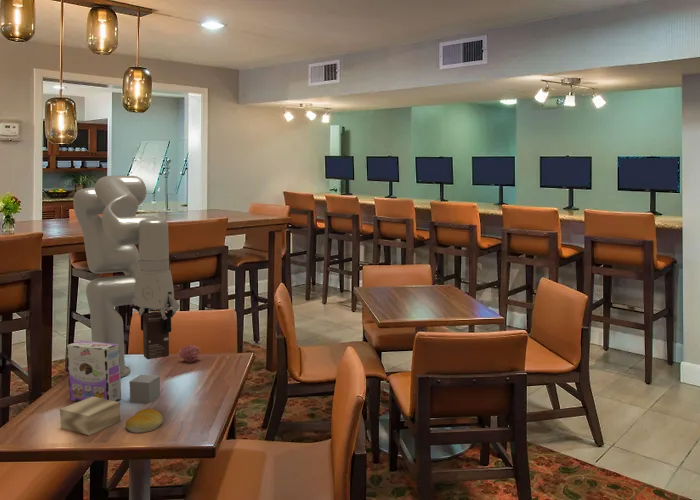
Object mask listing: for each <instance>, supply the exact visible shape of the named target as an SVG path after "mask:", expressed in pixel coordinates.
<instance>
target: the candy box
mask: <svg viewBox="0 0 700 500" xmlns="http://www.w3.org/2000/svg"><path fill="white" fill-rule="evenodd" d="M66 355H67V356H66V357H67V358H66V359H67V370H68V383H69V384H68V386H69V400H70V401H74V402H79V401H82V400H84V399H87V398H89V397H92V396H93V397H97V398H102V399H107V400H111V401H116V402H119V401H120V400H122V387H121V382H122V381H121V378H120V359H119V344H111V343H101V342H92V340H90V341H89V340H81V339H80V340H77V341H75V342H73V343H70V344H69V343H68V344H66Z"/></svg>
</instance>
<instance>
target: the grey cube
mask: <svg viewBox="0 0 700 500" xmlns="http://www.w3.org/2000/svg"><path fill="white" fill-rule="evenodd" d="M160 376H161V375H152V374H151V375H150V374H149V375H148V374H139V375H138V376H136V377H135V378H133V379H131V380H130V381H129V383H128V384H129V399H130V400H129V402H131V403H142V404H143V403H144V404H151V403H152V402H153V401H155V400H156V399H157V398H159V397H160V396H161V382H160V381H161V380H160V379H161V377H160Z"/></svg>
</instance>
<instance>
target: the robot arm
mask: <svg viewBox="0 0 700 500" xmlns="http://www.w3.org/2000/svg"><path fill="white" fill-rule="evenodd" d="M146 197H147V188H146V184H145V182H144V180H143V179H142V178H141V177H139V176H137V175H105V176H102V177H101V178H99V179H98V180H97V181H96V183H95V184H94V187H85V188H82V189H79V190H77V191H76V192H75V193H74V195H73V199H72V201H73V202H72V203H73V210H74V215H75V218H76V220H77V222H78V223H79V226H80V228H81V231H82V236H83V243H84V249H85V250H84V251H85V257H86V261H87V267H88V269H89V271H90V272H91V273H92V274H108V273H109V274H110V273H111V274H112V273H118V272H119V273H120V272H122V273H124V275H116V276H114V275H113V276H107V277H105V276H104V277H98V278H94V279H92V280H90V281H89V282H88V283H87V284H86V288H85V294H86V299H87V304H88V309H89V315H90V317H89V318H90V329H91V330H90V331H91V332H90V333H91V342H101V343H111V344H119V359H120V379H121V378H123V377H125V376H128V375H129V374H130V373H131V368H130V367H129V366H127V365H126V361H125V341H124V340H125V339H124V338H125V337H124V334H125V333H124V321H123V317H122V315H120V314H121V313H119V312H118V311H117V310H116V309H115V307H119V306H126V305H127V306H128V305H134V306H135V309H136V311H137V314H138V316H140V330H141V331H142V332H143V313H150V312H151V310H155V311H160V312H161V315H162V317H163V319H161V333H162V334H166V333H169V334H170V333H171V332H172V318H174V316H175V314H176V312H177V311H178V310H179V309H180V308H181V307H180V304H179V303H178V301H177V300H176V299H175V289H174V282H173V277H172V272H171V270H170V257H169V256H170V251H169V249H170V248H169V246H170V245H169V244H170V243H169V224H168V221H167V220H165V219H163V218H162V219H161V218H159V217H158V216H155V215H154V216H153V215H142V216H139V215H136V214H137V211H138V210H139V206H140V205H141V204H142V203H143V202H144V201H145V200H146ZM100 215H101V216H100ZM135 215H136V216H135ZM136 245H138V247H137V246H136Z"/></svg>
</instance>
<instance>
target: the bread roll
mask: <svg viewBox="0 0 700 500" xmlns="http://www.w3.org/2000/svg"><path fill="white" fill-rule="evenodd" d="M163 420H164V419H163V416H162V414H161V413H160V412H159V411H158V410H156V409H152V408H143V409H140V410H139V411H137V412H136V413H135V414H134V415H131V416H130V417H129V418H128V419H126V422H125V428H126V429H127V430H128V431H129V432H131V433H134V434H135V433H136V434H138V433H139V434H140V433H141V434H142V433H146V432H148V433H149V432H150V431H151V432H152V431H155V430H156V429H158V428H159V427H160V426H161V425H162V424H163Z"/></svg>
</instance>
